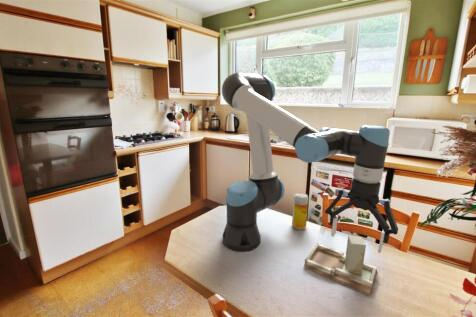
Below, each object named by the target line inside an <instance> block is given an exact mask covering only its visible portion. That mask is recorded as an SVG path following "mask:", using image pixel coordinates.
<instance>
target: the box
mask: <svg viewBox="0 0 476 317" xmlns="http://www.w3.org/2000/svg"><path fill="white" fill-rule="evenodd" d="M364 240H365V239H364V238H363V237H361V236H356V235H354V236H353V235H348V236H347V244H346V249H345V250H346V252H345V256H346V258H345V268H346V271H347V272H349V273H352V274H354V275H357V276H362V270H363V263H365V255H366V247H367V244H366V243H365V242H366V241H364Z"/></svg>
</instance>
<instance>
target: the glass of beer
mask: <svg viewBox="0 0 476 317" xmlns="http://www.w3.org/2000/svg"><path fill="white" fill-rule="evenodd" d="M292 204H293V205H292V216H291V217H292V220H291V225H292V227H293V228H294V229H296V230H304V229H305V228H307V221H308V220H307V219H308V208H309V196H308V194H307V193H305V192H296V193H294V195H293V203H292Z"/></svg>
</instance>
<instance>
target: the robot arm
mask: <svg viewBox="0 0 476 317" xmlns="http://www.w3.org/2000/svg"><path fill="white" fill-rule="evenodd" d="M275 87H276V86H275V84H274V81H273V80H272V79H271V78H270V77H269V76H268V75H264V74H261V73H246V72H245V73H244V72H235V73H232V74H230V75H228V76H227V77H226V78H225V79H224V81H223V83H222V86H221V95H222V97H223V100H224V101H225V102H226V104H227V105H229V107H231V108H233V109H234V110H235V111H237V112H243V113H244V114H245V115H246V124H247V133H248V142H249V143H248V144H249V149H250V150H249V152H250V159H251V168H252V173H251V174H250V175H249V180H242V181H241V180H240V181H236V182H234V183H232V184H230V185H229V186H227V187H228V188H227V189H226V197H225V202H226V225H225V227H224V230H223V232H222V237H221V238H222V244H223V246H224V247H225V248H226V249H228V250H230V251H234V252H235V253H245V252H251V251H254V250H255V249H258V247H259V246H260V245H261V242H262V241H261V237H262V236H261V233H260V231H259V226H258V223H257V217H258V215H257V214H258V213H259V212H261V211H264V210H266V209H269V208H270V207H272V206H273V207H274V206H275V205H277V204H278V203H280V202H281V201H282V199H283V197H284V196H285V191H286V190H285V185H284V182H283V181H282V180H281V178H280V177H278V173H277V172H276V171H275V170H274V165H273V164H274V163H273V154H272V153H273V152H272V142H271V134H270V132H271V133H273V134H274V135H276V136H277V137H279V138H280V139H282V140H283V141H284V142H286V143H287V144H288V145H290V146H292V147H293V148H294V150H295V151H294V152H295V154H296V156H297V158H298V160H301V161H302V162H303V163H309V164H310V163H315V162H316V163H317V162H320V161H322V160H325V159H327V158H330V157H333V156H336V155H344V156H349V157H355V158H354V159H355V160H354V165H353V170H352V176H353V177H352V178H351V183H350V189H349V190H346V189H345V188H344V187H341V188H340V189H339V190H338V193H337V196H336V197H335V198H334V199H333V201H332V202H331V203H330V204H329V206H328V207H327V208H326V209H325V211H324V212H325V213H324V214H326V215H329V225H330V226H332V228H331V234H330V235H331V237H335V235H336V234H337V229H338V228H337V226H338V220H339V214H341V213H343V212H344V211H346V210H347V209H348V208H351V207H353V206H354V207H355V209H361V210H363V211H369V212H370V213H371V214H372V215H373V217H374V218H375V220H376V221H377V223H378V224H379V226H380V227H381V229H382V231H381V235H380V240H379V245H378V248H377V253H379V254H381V253H382V250H383V245H384V244H388V243H389V239H390V235H392V234H393V235H398V233H399V226H398V224H397V221H396V218H395V217H394V213H393V210H392V208H391V198H380V196H379V193H380V190H381V181H382V180H383V174H384V167H385V161H386V156H387V154H388V153H387V152H388V149H389V146H390V144H389V141H390V134H391V133H390V132H391V131H390V129H389V128H388V127H386V126H380V125H371V124H364V125H362V126H360V127H359V129H358V130H349V129H345V128H344V129H343V128H336V127H327V126H325V127H324V126H323V127H322V128H320V130H317V129H315V128H314V127H312V126H310V125H309V124H307V123H306V122H304V121H303V120H301V119H299V118H298V117H296V116H295V115H293V114H292V113H290V112H288V111H286V110H285V109H283V108H281V107H280V106H278V105H277V104H275V103H274V102H273V100H274V98H275V95H276V88H275ZM346 196H347V197H348V198H349V200H348V201H346V202H345V203H344V204H342V205H340V206H339V207H337V208H336V209H335V210H333V208H335V206H336V205H337V204H338V202H340V200H341V199H342V198H344V197H346ZM379 204H381V207H382V208H383V211H384V214H385V216H386V219H387V220H386V219H385V218H384V216H383V215H382V214H381V212H380V210H379V208H378V207H377V205H379ZM387 221H388V223H387Z"/></svg>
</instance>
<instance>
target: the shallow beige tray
mask: <svg viewBox="0 0 476 317" xmlns="http://www.w3.org/2000/svg"><path fill="white" fill-rule="evenodd" d="M345 258H346V255H345V253H344V252H342V251H341V250H336V249H335V248H332V247H329V246H326V245H323V244H321V243H316V245H315V246H314V247H313V249H311V251H310V252H309V254H308V255H307V257H306V258H305V259H304V265H303V268H304V269H307V270H309V271H311V272H314V273H317V274H320V276H324V277H326V278H329V279H331V280H333V281H335V282H337V283H340V284H342V285H345V286H347V287H350V288H351V289H354V290H356V291H359V292H361V293H364V294H366V295H368V296H370V295H371V292H372V287H373V285H374V284H373V283H374V281H375V277H376V274H377V270H378V267H377V266H374V265H371V264H368V263H367V262H364V263H363V270H362V276H357V275H354V274H352V273H349V272H347V271H346V268H345Z"/></svg>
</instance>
